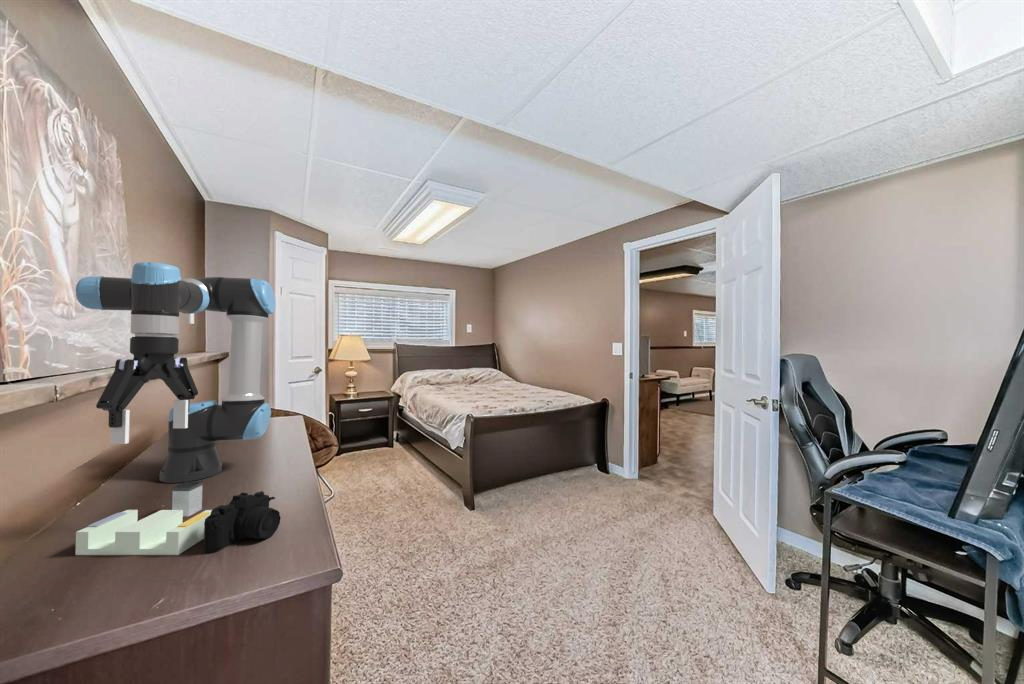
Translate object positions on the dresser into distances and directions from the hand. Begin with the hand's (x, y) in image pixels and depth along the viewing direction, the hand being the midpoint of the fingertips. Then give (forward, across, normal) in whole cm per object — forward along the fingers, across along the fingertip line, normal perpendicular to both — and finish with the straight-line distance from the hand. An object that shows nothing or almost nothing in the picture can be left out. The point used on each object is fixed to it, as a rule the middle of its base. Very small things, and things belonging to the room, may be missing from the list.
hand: (152, 435), depth 79 cm
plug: (+23, -14, -4) cm, 27 cm away
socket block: (+23, 0, 0) cm, 23 cm away
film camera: (+23, -2, +19) cm, 30 cm away
